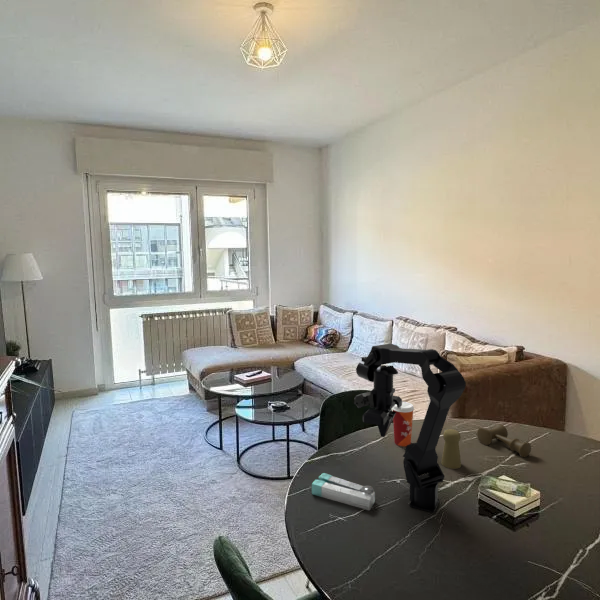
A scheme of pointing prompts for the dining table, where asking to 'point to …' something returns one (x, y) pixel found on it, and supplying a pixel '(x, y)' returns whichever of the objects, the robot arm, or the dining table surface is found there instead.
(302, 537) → the dining table surface
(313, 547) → the dining table surface
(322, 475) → the moving jaw
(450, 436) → the cork
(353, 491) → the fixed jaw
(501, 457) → the dining table surface
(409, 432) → the paper cup
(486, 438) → the kendama
